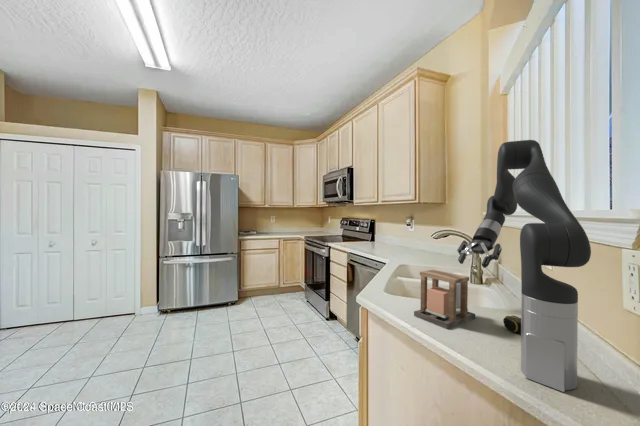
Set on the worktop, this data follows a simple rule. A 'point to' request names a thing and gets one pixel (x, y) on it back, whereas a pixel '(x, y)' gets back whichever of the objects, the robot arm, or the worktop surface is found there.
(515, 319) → the tape measure
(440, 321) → the brown table-shaped piece
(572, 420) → the worktop surface
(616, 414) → the worktop surface
